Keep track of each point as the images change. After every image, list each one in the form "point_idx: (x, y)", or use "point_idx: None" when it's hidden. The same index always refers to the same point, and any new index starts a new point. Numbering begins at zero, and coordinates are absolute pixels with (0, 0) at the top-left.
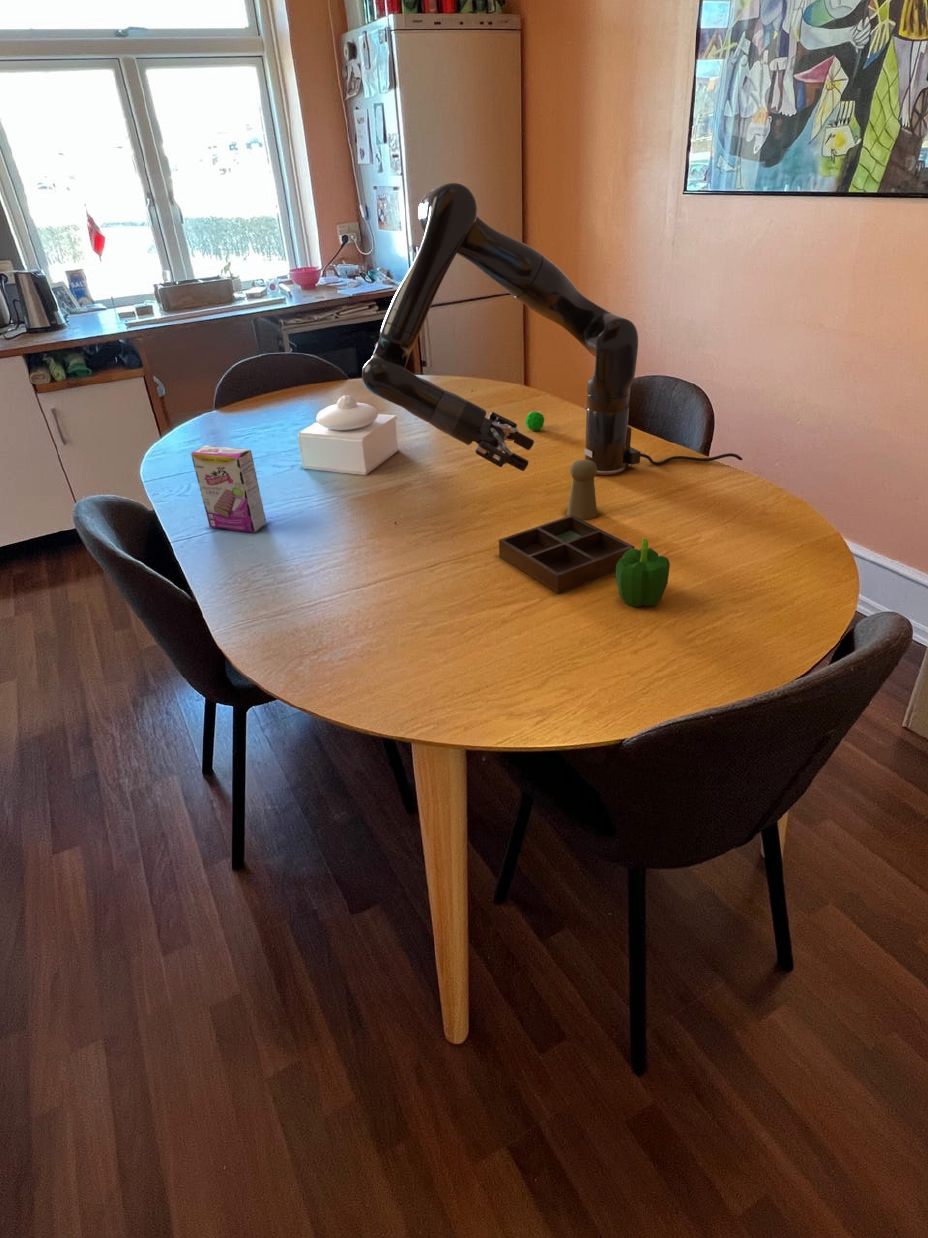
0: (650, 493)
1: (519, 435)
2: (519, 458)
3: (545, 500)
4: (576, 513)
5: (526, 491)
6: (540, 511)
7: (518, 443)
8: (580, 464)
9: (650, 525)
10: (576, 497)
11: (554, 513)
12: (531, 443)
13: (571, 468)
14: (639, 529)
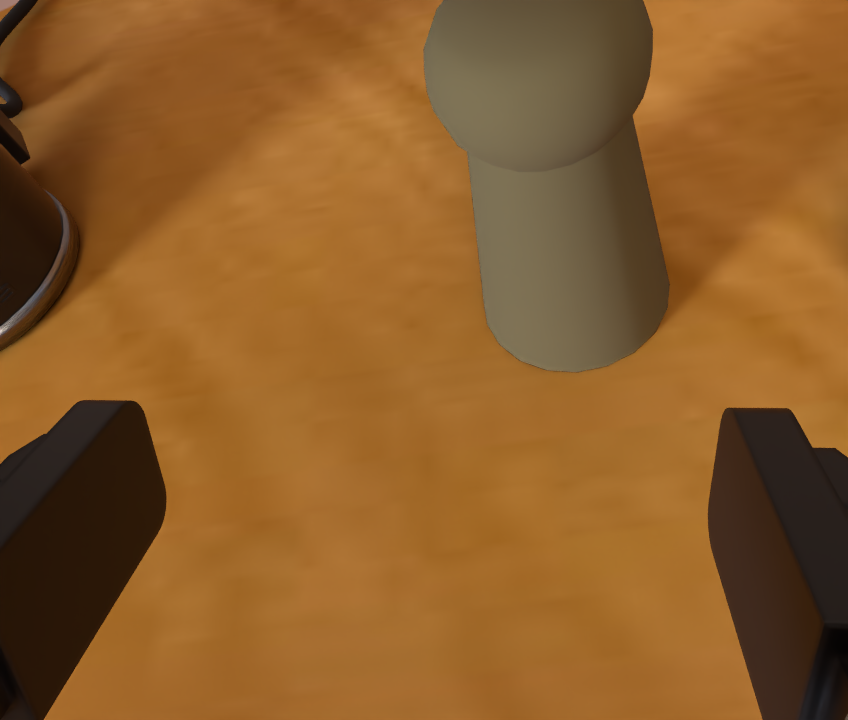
0: (311, 76)
1: (2, 572)
2: (844, 506)
3: (375, 534)
4: (663, 287)
5: (205, 698)
6: (569, 546)
7: (80, 634)
8: (585, 2)
9: (673, 13)
10: (641, 223)
11: (592, 447)
12: (133, 435)
13: (577, 99)
14: (733, 37)
